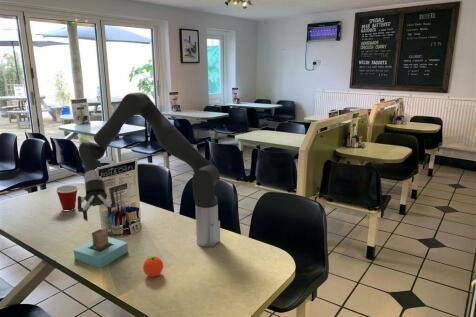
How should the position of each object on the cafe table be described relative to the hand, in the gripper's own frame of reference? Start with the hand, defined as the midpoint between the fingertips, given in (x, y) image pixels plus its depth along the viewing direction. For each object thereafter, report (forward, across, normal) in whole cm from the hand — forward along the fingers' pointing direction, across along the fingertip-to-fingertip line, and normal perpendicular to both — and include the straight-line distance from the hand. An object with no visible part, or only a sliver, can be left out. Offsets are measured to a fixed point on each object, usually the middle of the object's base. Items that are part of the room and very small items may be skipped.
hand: (98, 218), depth 141 cm
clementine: (+28, +16, -9) cm, 34 cm away
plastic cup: (-27, -14, +47) cm, 56 cm away
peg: (+13, 0, +6) cm, 15 cm away
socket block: (+13, 0, +6) cm, 14 cm away
